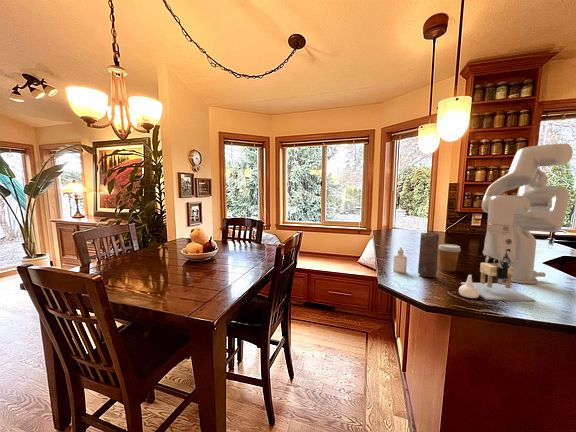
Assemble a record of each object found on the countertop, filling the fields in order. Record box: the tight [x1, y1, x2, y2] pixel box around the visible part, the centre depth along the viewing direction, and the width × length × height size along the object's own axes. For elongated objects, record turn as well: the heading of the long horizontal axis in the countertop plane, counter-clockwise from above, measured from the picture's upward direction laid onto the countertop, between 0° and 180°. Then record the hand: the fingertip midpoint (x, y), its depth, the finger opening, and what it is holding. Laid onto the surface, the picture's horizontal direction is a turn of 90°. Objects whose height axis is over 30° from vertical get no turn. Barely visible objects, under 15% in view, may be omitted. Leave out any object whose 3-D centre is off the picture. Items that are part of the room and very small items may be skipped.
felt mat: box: [460, 281, 536, 302], centre depth 97 cm, size 16×16×1 cm
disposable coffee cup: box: [438, 243, 462, 272], centre depth 125 cm, size 10×10×12 cm
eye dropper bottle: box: [392, 246, 408, 274], centre depth 121 cm, size 4×6×12 cm
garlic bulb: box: [458, 274, 480, 299], centre depth 94 cm, size 6×6×8 cm
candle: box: [417, 232, 440, 278], centre depth 114 cm, size 8×7×20 cm
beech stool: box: [479, 262, 514, 288], centre depth 97 cm, size 8×6×8 cm
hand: (495, 275), depth 97 cm, fingers closed on beech stool, 5 cm apart
